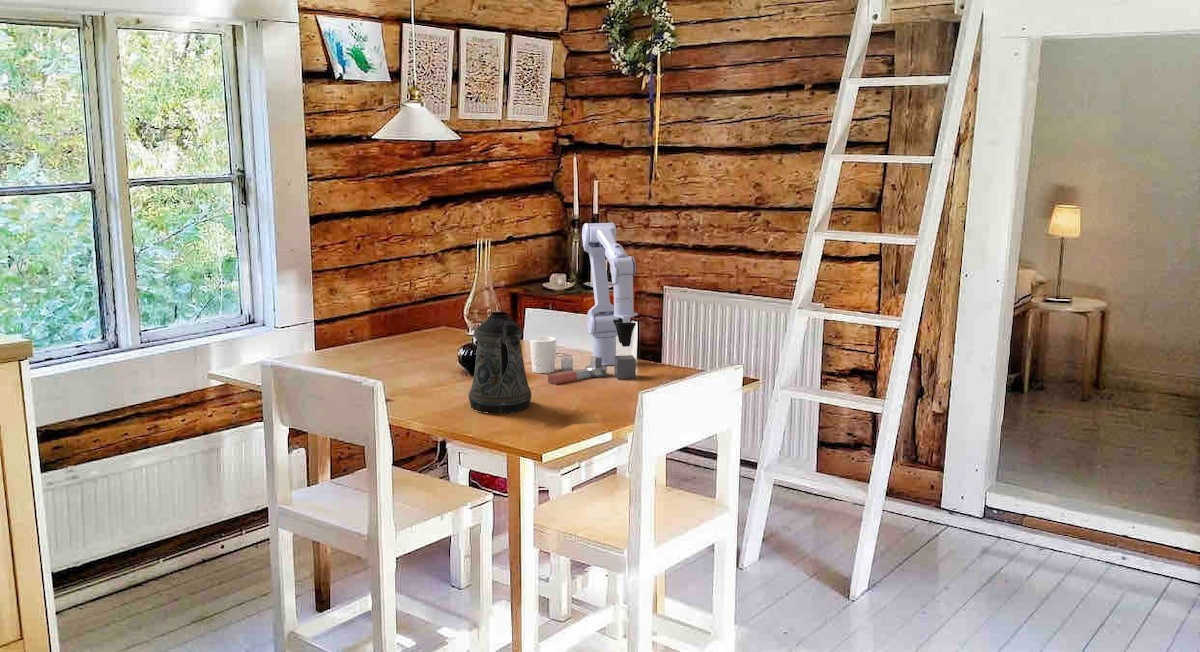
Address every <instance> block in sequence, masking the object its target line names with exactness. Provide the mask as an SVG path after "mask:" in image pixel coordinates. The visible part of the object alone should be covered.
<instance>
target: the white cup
mask: <svg viewBox="0 0 1200 652" xmlns="http://www.w3.org/2000/svg"><path fill="white" fill-rule="evenodd" d="M529 344H530V345H529V346H530V347H529V348H530V360H531V369H532V370H531V371H532V372H533V373H534V372H535V374H540V373H545V374H552V373H555V370H556V364H555V363H556V355H557V354H556V352H557V348H556V347H557V339H556V338H555V337H553V336H534V337H532V338H530V339H529ZM551 372H552V373H551Z"/></svg>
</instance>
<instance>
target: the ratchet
mask: <svg viewBox="0 0 1200 652" xmlns="http://www.w3.org/2000/svg"><path fill="white" fill-rule="evenodd" d="M589 361H590V363H589V365H586V366H585V368H583V369H577V370H576V369H575V370H573V371H571V370H569V371H563V372H561V371H558V372H552V373H547V383H548V382H549V383H548V384H551V383H552V384H551V385H554V384H555V385H559V383H561V384H565V383H564V382H566V383H570V381H571V382H575V380H577V381H580V380H585V379H584V378H586V379H590V378H589V377H601V378H605V377H607V376H608V365H602V357H598V356H594V357H593V356H590V357H589ZM606 375H607V376H606ZM604 376H605V377H604ZM579 379H580V380H579Z"/></svg>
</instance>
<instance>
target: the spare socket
mask: <svg viewBox="0 0 1200 652" xmlns="http://www.w3.org/2000/svg"><path fill="white" fill-rule="evenodd" d="M560 362H561V363H560V370H561V371H560V372H563V371H569V370H571V371H574V359H573V358H572V357H562V358H561V359H560Z"/></svg>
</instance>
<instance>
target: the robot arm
mask: <svg viewBox="0 0 1200 652" xmlns="http://www.w3.org/2000/svg"><path fill="white" fill-rule="evenodd" d="M617 232H618V231H617V227H616V225H615V223H614V222H611V221H610V222H598V223H597V222H595V223H594V222H593V223H590V222H589V223H588V222H586V223H584V224H583V225H582V229H581V239H582V247H583V251H584V252H586V253H588V256H589V261H590V271H591V278H592V279H591V280H592V288H593V296H594V305H593V306H592V307H591V308H590V309H589V310H588V311H587V314H586V315H587V320H586V322H587V323H586V325H587V331H588V333H589V334H590V335H591V336H592V357H594V356H598V357H602V365H604V366H614V356H617V337H618V343H619V344H621V346H622V347H625V348H626V347H630V346H631V341H632V336H633V332H634V329H635V326H636V322H633V319H632V318H633V317H635V316H638V315H639V314H638V312H635V311H634V276H635V275H636V273H637V272H636V271H637V268H636V267H637V266H636V265H637V264H636V260H635V258H634V256H631V255H630V256H629V255H628V254H627V253H626V251H625V249H624V247H623V246H622V245H621V244H620V243H617V240H616V239H617ZM606 260H607V262H608V263H609V265H610V266H609V269H610V270H609V271H610V275H611V284H613V304H612V303H611V299H610V289H609V281H608V278H609V277H608V272H607V271H608V270H607V263H606Z"/></svg>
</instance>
